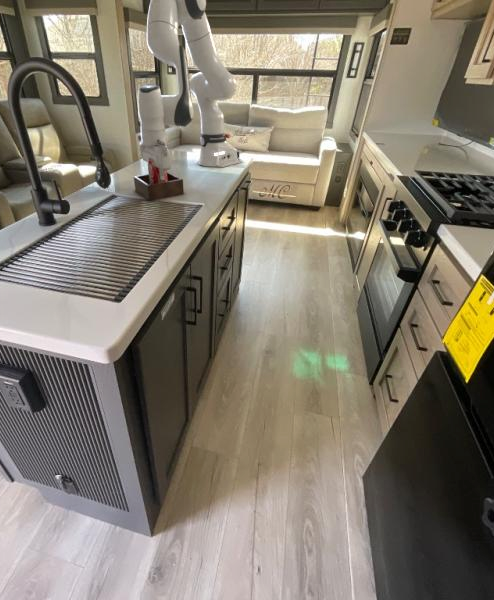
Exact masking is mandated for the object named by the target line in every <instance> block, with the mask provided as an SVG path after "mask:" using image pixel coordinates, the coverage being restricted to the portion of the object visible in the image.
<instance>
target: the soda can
mask: <svg viewBox="0 0 494 600" xmlns="http://www.w3.org/2000/svg"><path fill="white" fill-rule="evenodd" d="M147 172H148V173H147V174H149V181H150V184H156V183H162V182H168V181H167V172H168V170H166V172H165V180H160V179H159V175H160V171H159V168H157V167H155V165H154V162H153V160H150V159H149V162H147Z"/></svg>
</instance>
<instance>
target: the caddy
mask: <svg viewBox="0 0 494 600" xmlns="http://www.w3.org/2000/svg"><path fill="white" fill-rule="evenodd" d="M167 181H168V182H162V183H156V184H150V181H149V173H145V174H141V175H134V176H133V182H134V189H135V192H137V193H138V194H140V195H141V196H142V197H144V198H145V199H147V200H148V201H154V200H160V199H165V198H170V197H171V198H172V197H176V196H181V195H184V193H185V191H184V179H183V178H181V177H179V176H177V175H175V174H173V173H171V172H169V171H167Z"/></svg>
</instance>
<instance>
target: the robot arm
mask: <svg viewBox="0 0 494 600" xmlns="http://www.w3.org/2000/svg"><path fill="white" fill-rule="evenodd" d="M206 7H207V0H150V2H149V7H148V12H147V21H146V44H147V47H148V50H149V51H150V53H151V55H152V56H154V57H155V58H156V59H157V60H158V61H160V62H162V63H164V64H167V65H169V66H171V67H173V68H174V69H175V71H176V77H177V88H178V93H177V94H171V95H170V94H169V95H168V94H162V90H161V88H160V86H158V85H156V84H146V85H142V86H140V87H138V90H137V109H138V110H137V111H138V117H139V120H140V133H138V134H137V140H138V142H139V148H140V149H139V150H140V155H141V158H142V161H144V162H146V163H148V162H149V159H150V160H153V162H154V165H155V167H157V168H159V171H160V175H159V179H160V180H165V172H166V170H167V171H169V170H171V168H172V160H171V153H170V149H169V148H168V146H167V145H166V143H167V134H166V133H167V132H166V126H177V127H183V128H185V127H187V126H188V125H189V124H190V123H191V122H192V121H193V120H194V113H195V111H194V104H193V100H192V96H193V98H194V100H195V102H196V105H197V107H198V112H199V116H200V134H199V135H200V136H199V137H200V141H199V142H200V154H199V159H198V165H200V166H204V167H212V168H213V167H215V168H224V167H229V166H232V165H236V164H240V163H242V159H241V158H240V151H238V150H237V148H235V147H234V146H233V145H232V144H231V143H229V141H227V139H230V137H231V134H230V133H225V132H224V131H225V130H224V129H225V116H224V113H223V111H221V109H220V107H219V104H218V102H219V101H220V102H223V101H227V100H230V99H232V98H233V97H234V96H235V93H236V91H237V81H236V77H235V76H234V75H233V74H232V73H231V72H229V70H228V69H227V68H226V66H225V65H224V63H223V61H222V59H221V58H220V56H219V54H218V51H217V47H216V45H215V41H214V38H213V34H212V30H211V26H210V23H209V20H208V17H207V13H206ZM179 26H181V27H182V28H181V29H182V33H183V37H184V40H185V44H186V47H187V50H188V54H189V57H190V60H191V62H192V64H193V65H194V66H195V67H196V68H197V69H198V70H199V72H197V73H194V74H193V75H192V76H191V77H190V72H189V64H188V62H189V61H188V56H187V52H186V50H185V47H184V46H183V45H182V44H181V43H180V41H179Z"/></svg>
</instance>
